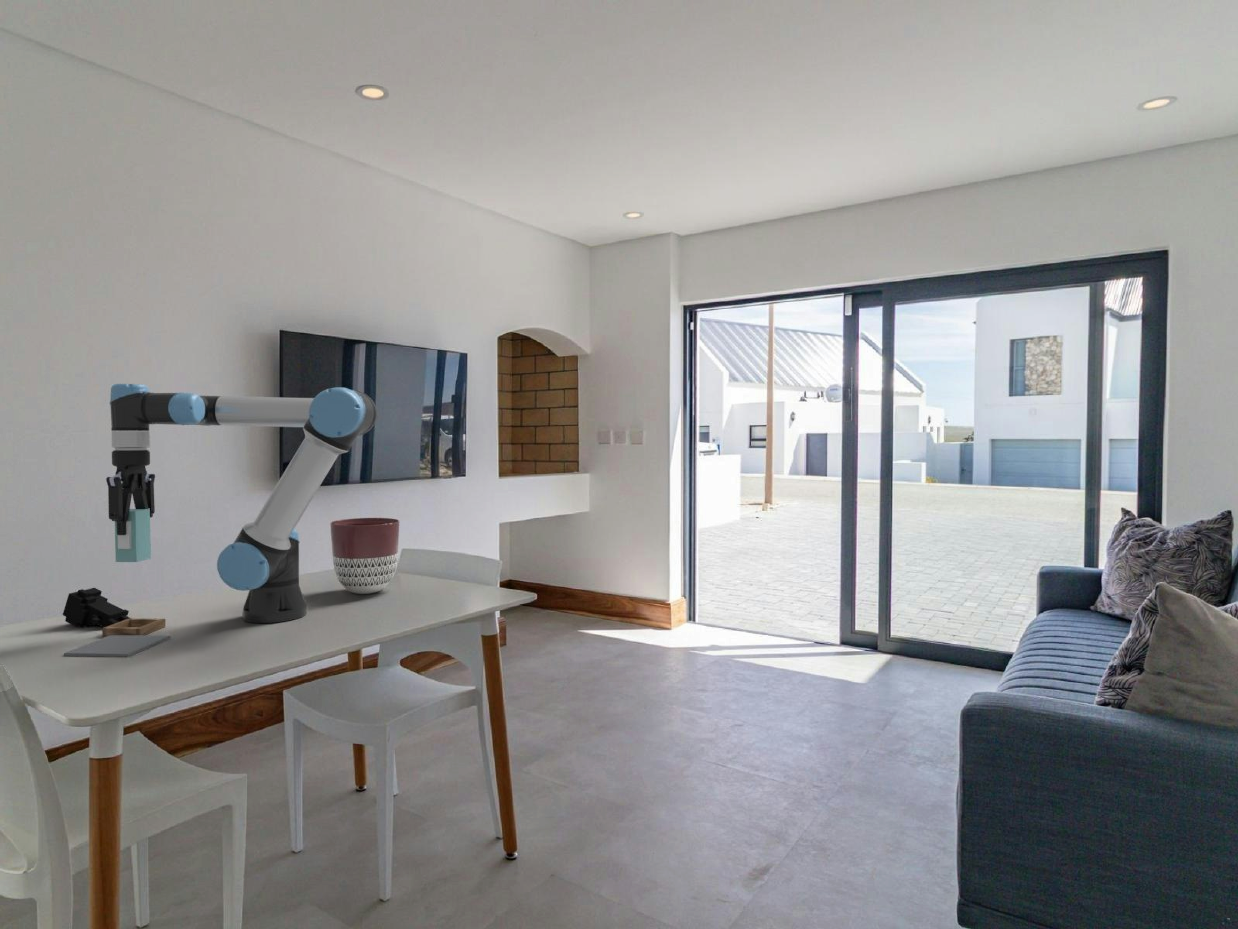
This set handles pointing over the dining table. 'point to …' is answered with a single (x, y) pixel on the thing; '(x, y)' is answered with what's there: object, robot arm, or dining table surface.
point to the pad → (118, 645)
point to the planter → (365, 552)
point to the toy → (92, 609)
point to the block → (136, 537)
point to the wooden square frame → (134, 627)
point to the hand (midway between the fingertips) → (133, 546)
